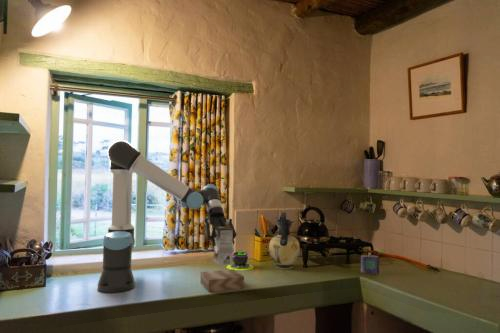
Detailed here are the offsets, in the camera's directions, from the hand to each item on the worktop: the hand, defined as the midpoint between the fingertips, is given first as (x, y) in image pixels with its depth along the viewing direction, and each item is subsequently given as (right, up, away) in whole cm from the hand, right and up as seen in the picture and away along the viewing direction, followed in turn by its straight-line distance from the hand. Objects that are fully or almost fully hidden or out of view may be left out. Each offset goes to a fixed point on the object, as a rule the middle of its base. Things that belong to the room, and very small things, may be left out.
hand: (225, 251), depth 156 cm
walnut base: (-2, -16, +3) cm, 16 cm away
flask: (+74, -19, +29) cm, 81 cm away
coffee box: (-1, -6, +3) cm, 7 cm away
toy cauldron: (+5, -18, +38) cm, 42 cm away
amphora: (+30, -18, +39) cm, 52 cm away
